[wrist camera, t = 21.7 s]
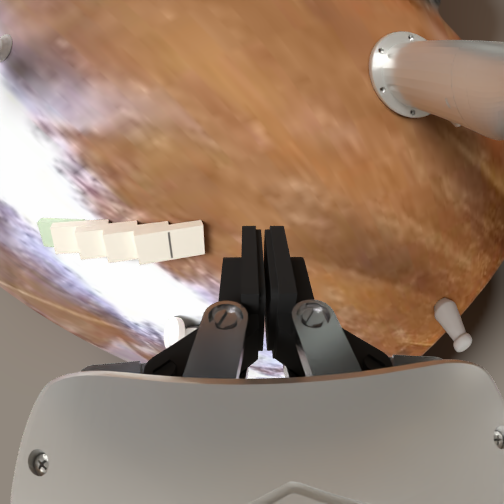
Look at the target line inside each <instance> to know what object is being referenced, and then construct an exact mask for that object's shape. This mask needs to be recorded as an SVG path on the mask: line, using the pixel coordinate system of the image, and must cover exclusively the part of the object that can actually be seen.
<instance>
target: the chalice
mask: <svg viewBox="0 0 504 504" xmlns="http://www.w3.org/2000/svg"><path fill="white" fill-rule="evenodd" d="M11 46H12V39H11V36H10V35H8V34H6V35H3V36H2V37H0V62H2V61H4V60H5V59H6V58H7V56H8V54H9V53H10V50H11Z"/></svg>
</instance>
